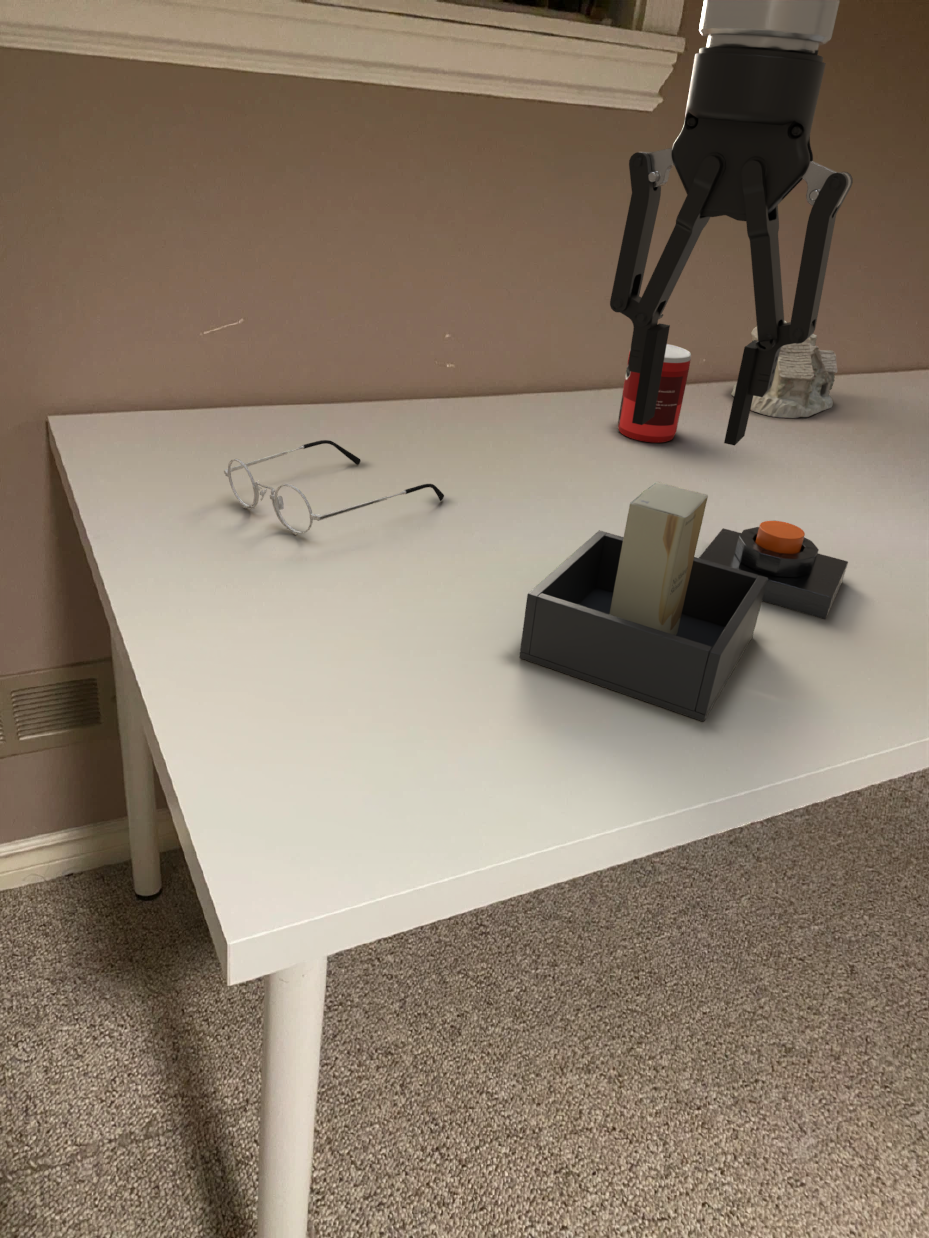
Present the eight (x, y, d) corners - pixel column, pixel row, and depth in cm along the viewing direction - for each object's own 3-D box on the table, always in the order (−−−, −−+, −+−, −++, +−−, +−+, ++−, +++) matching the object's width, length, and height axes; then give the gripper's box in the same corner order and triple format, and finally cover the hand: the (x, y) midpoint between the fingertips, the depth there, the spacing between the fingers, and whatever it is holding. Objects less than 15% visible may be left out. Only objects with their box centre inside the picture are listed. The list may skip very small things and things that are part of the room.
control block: (842, 582, 89) (854, 543, 87) (825, 619, 82) (838, 579, 80) (717, 548, 94) (726, 510, 92) (692, 581, 87) (701, 541, 85)
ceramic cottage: (745, 413, 136) (776, 305, 130) (722, 386, 151) (748, 289, 144) (851, 429, 137) (887, 324, 130) (817, 401, 152) (848, 305, 145)
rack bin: (752, 637, 78) (768, 577, 76) (703, 722, 67) (720, 655, 64) (589, 587, 84) (599, 529, 81) (518, 657, 73) (527, 593, 70)
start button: (803, 545, 87) (808, 528, 86) (795, 560, 84) (800, 542, 83) (760, 534, 89) (765, 516, 88) (750, 548, 86) (755, 530, 85)
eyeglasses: (210, 497, 95) (208, 449, 92) (351, 460, 107) (352, 417, 105) (313, 552, 86) (313, 501, 83) (454, 504, 98) (457, 459, 96)
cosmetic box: (653, 666, 72) (685, 519, 66) (600, 649, 74) (627, 503, 68) (679, 632, 77) (711, 492, 71) (629, 616, 79) (656, 478, 73)
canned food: (644, 421, 130) (658, 339, 124) (688, 439, 124) (705, 354, 119) (603, 428, 125) (617, 344, 120) (647, 446, 120) (663, 359, 115)
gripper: (939, 61, 55) (834, 445, 66) (630, 43, 62) (583, 391, 73) (928, 52, 49) (814, 475, 60) (588, 33, 56) (544, 414, 67)
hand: (688, 428), depth 67 cm, fingers open, 6 cm apart
